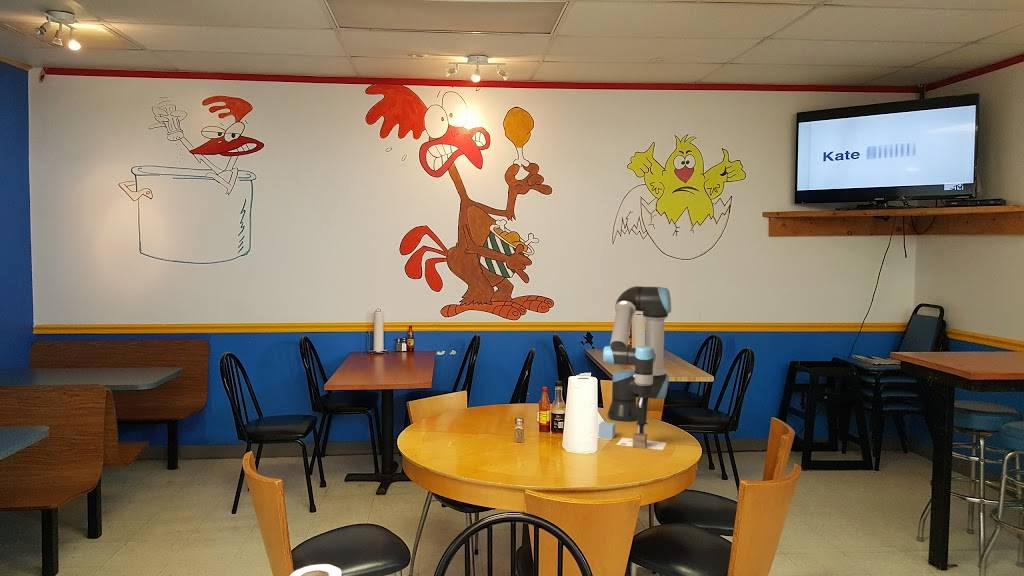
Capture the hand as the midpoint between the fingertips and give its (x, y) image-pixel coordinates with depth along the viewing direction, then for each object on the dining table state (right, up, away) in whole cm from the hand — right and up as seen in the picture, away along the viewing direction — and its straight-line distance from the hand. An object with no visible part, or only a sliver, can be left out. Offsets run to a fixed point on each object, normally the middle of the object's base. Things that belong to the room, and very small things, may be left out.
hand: (641, 440), depth 314 cm
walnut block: (-1, -2, -3) cm, 4 cm away
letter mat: (+1, -2, +2) cm, 3 cm away
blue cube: (-13, -1, +12) cm, 18 cm away
